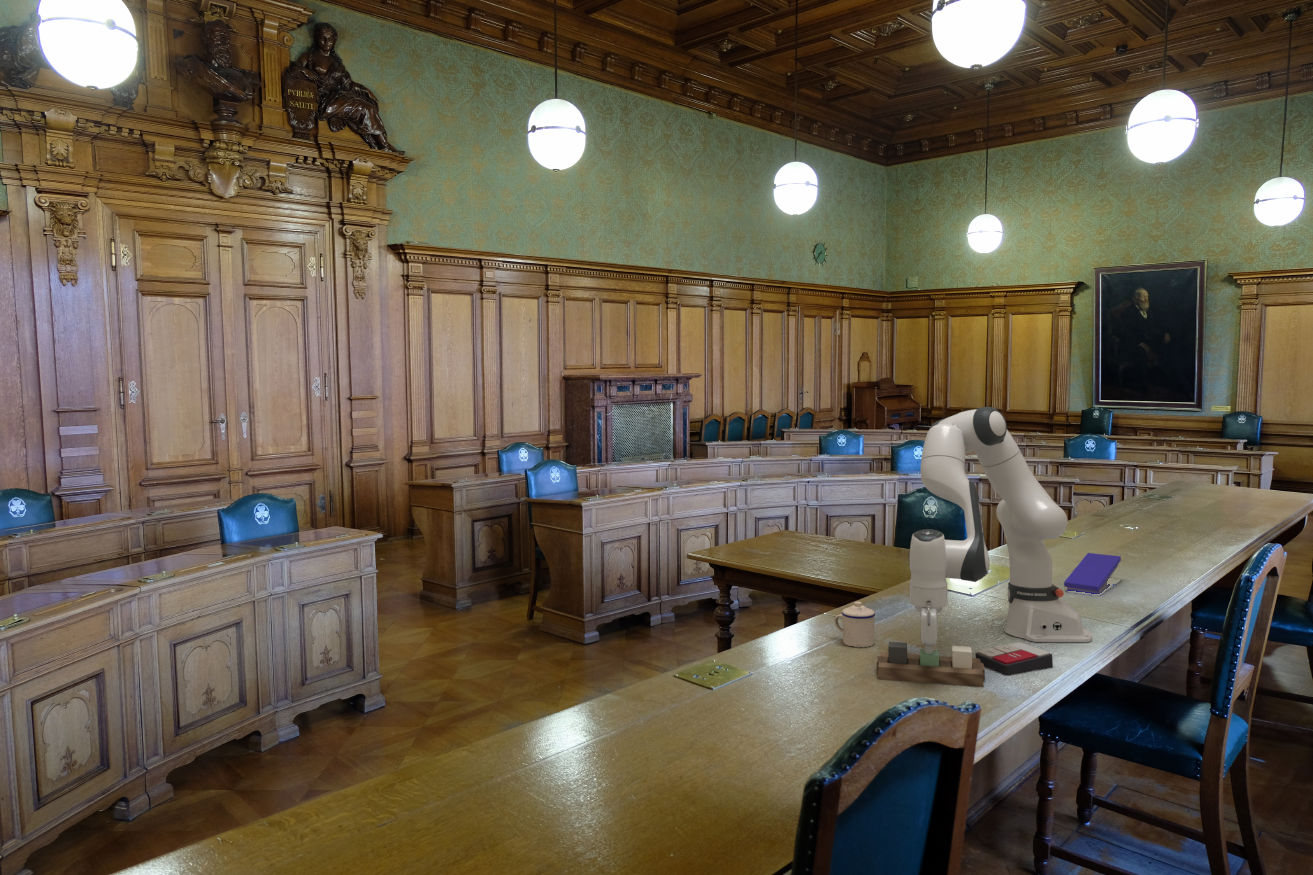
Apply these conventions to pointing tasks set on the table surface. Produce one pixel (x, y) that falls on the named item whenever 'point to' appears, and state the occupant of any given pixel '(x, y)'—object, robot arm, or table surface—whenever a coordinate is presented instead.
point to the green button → (929, 658)
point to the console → (931, 671)
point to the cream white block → (961, 657)
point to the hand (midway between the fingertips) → (929, 651)
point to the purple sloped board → (1092, 573)
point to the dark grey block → (897, 652)
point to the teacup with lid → (857, 625)
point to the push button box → (1015, 658)
